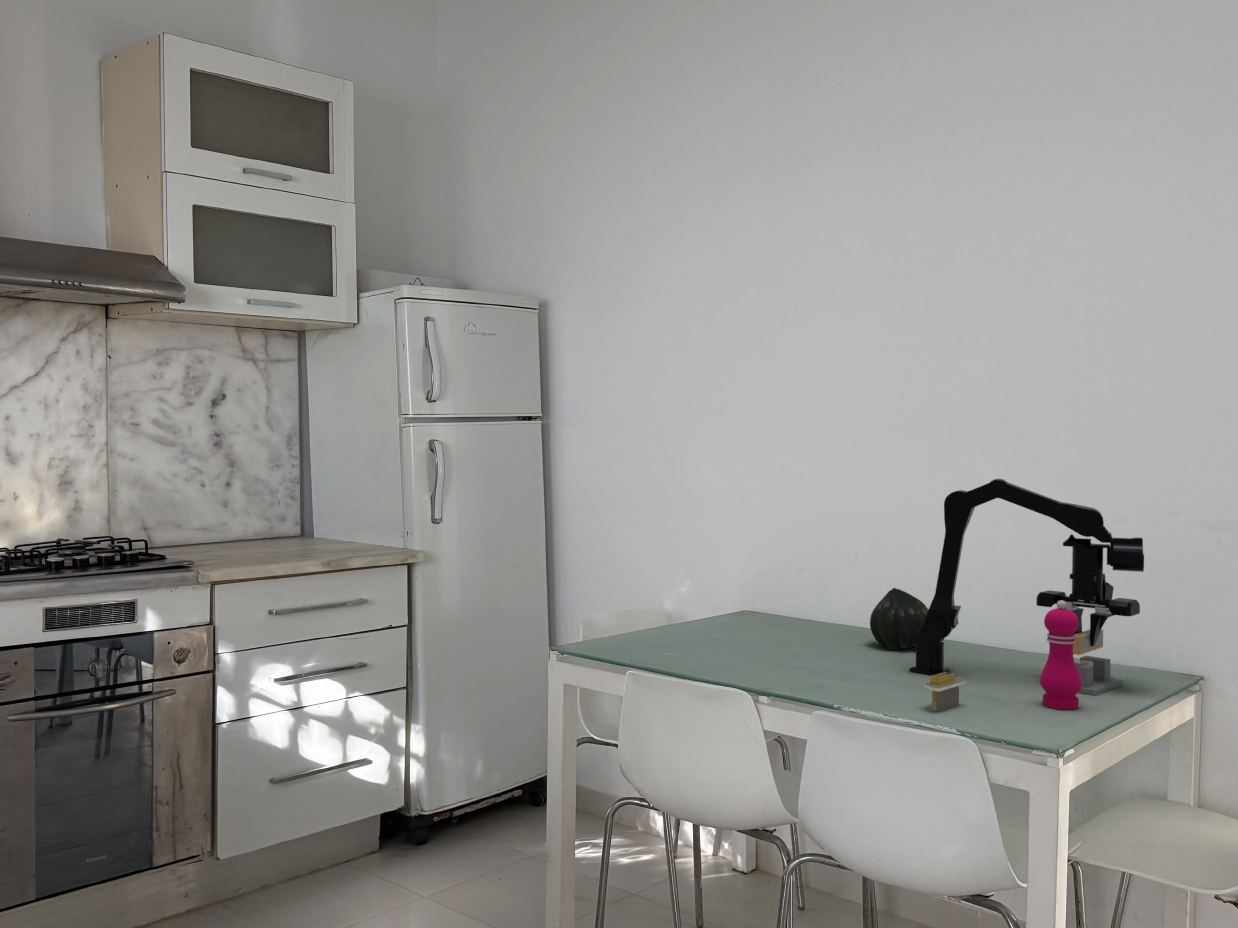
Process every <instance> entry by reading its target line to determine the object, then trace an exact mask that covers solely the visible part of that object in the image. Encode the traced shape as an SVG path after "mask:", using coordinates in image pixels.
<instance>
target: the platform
mask: <svg viewBox="0 0 1238 928" xmlns="http://www.w3.org/2000/svg"><path fill="white" fill-rule="evenodd" d="M955 675H956V673H951V674H948V672H944V673H941V674H937V675H930V681H928V682H926V683H923V685H924V686H923V687H924V689H927V690H930V691H931V709H933V710H935V713H937V712H940V710H941V711H943V710H946V709H949V708H953V707H956V706H958V705H960V686H963V685H966V683H967V682H966V681H967V680H965V679H961V678H955V677H956V676H955Z"/></svg>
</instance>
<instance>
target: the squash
mask: <svg viewBox="0 0 1238 928" xmlns="http://www.w3.org/2000/svg"><path fill="white" fill-rule="evenodd" d="M928 610H929V608H928V607H927V605H926V603H924V602H923V601H921V600H920V599H918V598H917V597H914V596H913V595H911V594H910V593H908V592H907V591H904V590H902V589H900V588H896V587H893V588H892V589H890V590H888V591H887V593H886V594H885V595H884V596H883V598H882V599H880V601H879V602H878V603H877V604H876V606H875V607H874V608H873V610H872V612H871V615H870V620H869V627H870V628H869V629H870V631H871V634H872V636H873V638H874V639H875V641H876V642H877V644H878V645H880V646H881V647H883V648H885V649H889V650H895V651H898V650H901V649H902V648H904V649H907V648H908V647H910V648H911V649H912V650H916V644H915V641H914V638H913V636H914V635H915V634H916V633H917V632H918V630H919V629H921V628H922V627H923V626H924V621H925V618H926V616H927V613H928Z"/></svg>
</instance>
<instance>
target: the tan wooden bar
mask: <svg viewBox="0 0 1238 928" xmlns="http://www.w3.org/2000/svg"><path fill="white" fill-rule="evenodd" d="M1074 635H1075V636H1076V638H1075V641H1076V642H1075V643H1074V644H1073V655H1077V656H1081V655H1084V654H1087V653H1091V652H1092V651H1096V650H1098V649H1102V648H1103V647H1104V630H1103V629H1101V631H1100V634H1099V636H1098V639H1097V641H1096V644H1095V646H1091V643H1090V629H1087V630H1084V631H1082V632H1080V633H1077V634H1074Z"/></svg>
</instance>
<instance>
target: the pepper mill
mask: <svg viewBox="0 0 1238 928" xmlns="http://www.w3.org/2000/svg"><path fill="white" fill-rule="evenodd" d="M1066 607H1067V604H1066V602H1065V601H1063V600H1060V601H1058V602H1057V604H1056V608H1052V609H1050V610H1049V611H1048V612H1046V614H1045V616H1044V620H1043V622H1044V623H1043V625H1044V627H1045V628H1046V629H1047V631H1048V633H1047V634H1046V636H1047V639H1046V641H1047V642H1048V645H1049V648H1048V649H1049V651H1048V658H1047V660H1046V663H1045V664H1044V667H1043V669H1042V670H1041V675H1040V678H1039V685H1040V686H1041V688H1042V689H1043V690H1044V691H1045V693H1043V694H1042V705H1043V706H1044V707H1046V708H1049V709H1053V708H1054V709H1055V710H1061V709H1062V710H1063V711H1072V709H1073V710H1077V709H1079V707H1080V706H1079V703H1080V701H1079V699H1080V698H1079V697H1078V696H1077V694H1079V693H1078V692H1079V691H1080V690H1081V687H1082V683H1081V677H1080V674H1079V672H1078V669H1077V667H1076V665H1075V663H1076V662H1075V658H1074V654H1073V644H1074V643H1075V642H1076V641H1075V638H1076V636H1075V635H1074V633H1075V631H1076V630H1077V629H1078V627H1079V621H1078V617H1077V616H1076V614H1075V613H1074V612H1072V611H1070V610H1068V609H1065V608H1066Z"/></svg>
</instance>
